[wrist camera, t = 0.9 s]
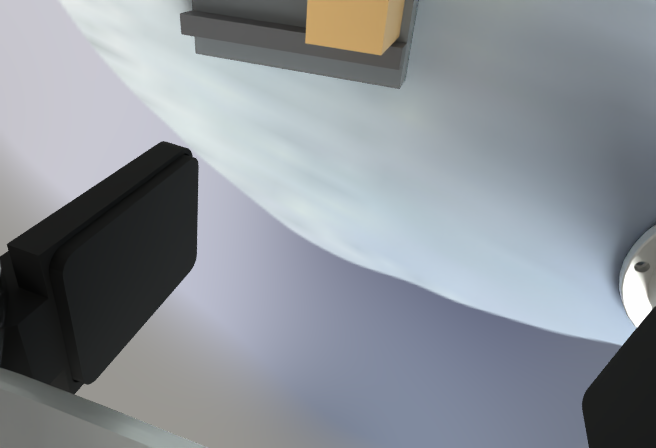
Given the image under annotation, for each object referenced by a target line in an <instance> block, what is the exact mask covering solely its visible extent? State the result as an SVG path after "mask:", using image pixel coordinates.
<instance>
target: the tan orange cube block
mask: <svg viewBox="0 0 656 448" xmlns="http://www.w3.org/2000/svg"><path fill="white" fill-rule="evenodd" d="M404 3H405V0H307V19H306V38H305V43H307V44H313V45H319V46H325V47H332V48H338V49H344V50H350V51H357V52H363V53H369V54H375V55H382V54H383V53H384V52H385V51H386V50H387V49H388V48H389V47H390V46H391V45H392V44H393V43H394V42H395V40H396V39H397V38H398V37H399V35H400V29H401V22H402V16H403V9H404Z"/></svg>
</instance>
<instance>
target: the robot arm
mask: <svg viewBox="0 0 656 448" xmlns="http://www.w3.org/2000/svg"><path fill="white" fill-rule="evenodd" d="M197 212H198V161H197V159H196V158H194V157H192V153H191V151H190V150H189V149H188V148H184V147H181V146H178V145H175V144H172V143H168V142H164V141H163V142H160V143H158V144H157V145H155V146H154V147H152V148H151V149H149V150H148V151H146V152H145V153H143V154H142V155H140V156H139V157H137V158H136V159H134V160H133V161H131V162H130V163H128V164H127V165H125V166H124V167H122V168H121V169H119V170H118V171H116V172H115V173H113V174H112V175H110V176H109V177H107V178H106V179H104V180H103V181H101V182H100V183H98V184H97V185H96V186H94V187H92V188H91V189H89V190H88V191H86V192H85V193H83V194H82V195H80V196H79V197H77V198H76V199H74V200H73V201H71V202H70V203H68V204H67V205H65V206H64V207H62V208H61V209H59V210H58V211H56V212H55V213H53V214H51V215H50V216H49V217H47V218H45V219H44V220H42V221H41V222H40V223H38V224H37V225H35V226H33V227H32V228H30V229H29V230H27V231H26V232H24V233H23V234H21V235H20V236H18V237H17V238H15V239H14V240H13V241H11V242H9V243H8V244H7V247H8V250H9V251H8V252H6V253H5V254H3V255H2V256H0V448H208V447H206V446H203V445H201V444H198V443H196V442H193V441H191V440H188V439H186V438H183V437H181V436H178V435H176V434H173V433H171V432H168V431H166V430H163V429H161V428H158V427H155V426H153V425H151V424H148V423H146V422H143V421H140V420H138V419H135V418H133V417H131V416H128V415H125V414H123V413H121V412H118V411H116V410H113V409H110V408H108V407H105V406H103V405H100V404H97V403H95V402H92V401H90V400H87V399H84V398H82V397H79V396H77V395H74V394H75V393H76V392H77V391H78V390H79V389H80V387H81V386H82V385H83V384H91V383H92V382H94V381H95V380H96V379H97V378H98V377H99V376H100V374H101V373H102V372H103V371H104V370H105V369H106V368H107V366H108V365H109V364H110V363H111V362H112V361H113V360H114V358H115V357H116V356H117V355H118V354H119V353H120V352H121V350H122V349H123V348H124V347H125V346H126V345H127V343H128V342H129V341H130V340H131V339H132V338H133V337H134V335H135V334H136V333H137V332H138V331H139V330H140V329H141V327H142V326H143V325H144V324H145V323H146V322H147V320H148V319H149V318H150V317H151V316H152V315H153V313H154V312H155V311H156V310H157V309H158V308H159V307H160V305H161V304H162V303H163V302H164V301H165V300H166V298H167V297H168V296H169V295H170V294H171V293H172V292H173V291H174V289H175V288H176V287H177V286H178V285H179V284H180V282H181V281H182V280H183V279H184V278H185V277H186V275H187V274H188V273H189V272H190V271H191V269H192V268H193V266H194V264H195V261H196V256H197V215H198V213H197ZM619 291H620V295H621V300H622V303H623V306H624V308H625V311H626V314H627V316H628V317H629V318H630V320H631V321H632V323H633V324H634V326H635V327H636V330H635V331H634V332H633V333H632V335H631V336H630V337H629V338H628V339H627V341H626V342H625V343H624V344H623V346H622V347H621V348H620V349H619V351H618V352H617V353H616V354H615V356H614V357H613V358H612V359H611V360H610V362H609V363H608V364H607V365H606V367H605V368H604V369H603V371H602V372H601V373H600V374H599V375H598V377H597V378H596V379H595V380H594V382H593V383H592V384H591V385H590V387H589V388H588V389H587V390H586V392H585V394H584V397H583V401H582V410H583V416H584V421H585V427H586V433H587V439H588V444H589V448H656V224H655V225H654V226H653V227H652V228H650V229H649V230H648V231H646V232H645V233H644V234H643V235H642V236H641V237H640V238H639V239H638V241H637V242H636V243H635V244H634V245H633V246H632V248H631V249H630V251H629V253H628V254H627V256H626V258H625V259H624V262H623V265H622V268H621V271H620V274H619Z"/></svg>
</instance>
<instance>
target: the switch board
mask: <svg viewBox="0 0 656 448" xmlns="http://www.w3.org/2000/svg"><path fill="white" fill-rule="evenodd" d="M418 1H419V0H405V3H404V9H403V16H402V22H401V29H400V35H399V37H398V38H397V39H396V40H395V42H394V43H393V44H392V45H391V46H390V47H389V48H388V49H387V50H386V51H385V52H384V53H383V54H382V55H375V54H369V53H363V52H357V51H350V50H344V49H338V48H332V47H325V46H319V45H313V44H307V43H305V38H306V19H307V0H192V7H193V10H192V11H188V12H185V13H181V14H180V22H181V33H182V34H184V35H190V36H195V50H196V54H202V55H207V56H213V57H219V58H225V59H230V60H236V61H242V62H248V63H254V64H259V65H265V66H271V67H277V68H282V69H288V70H294V71H300V72H305V73H311V74H317V75H323V76H328V77H334V78H340V79H346V80H351V81H357V82H363V83H369V84H374V85H380V86H386V87H392V88H397V89H400V87H401V86H402V84H403V83H404V81H405V77H406V71H407V65H408V60H409V54H410V48H411V42H412V36H413V30H414V24H415V18H416V12H417V6H418Z"/></svg>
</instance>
